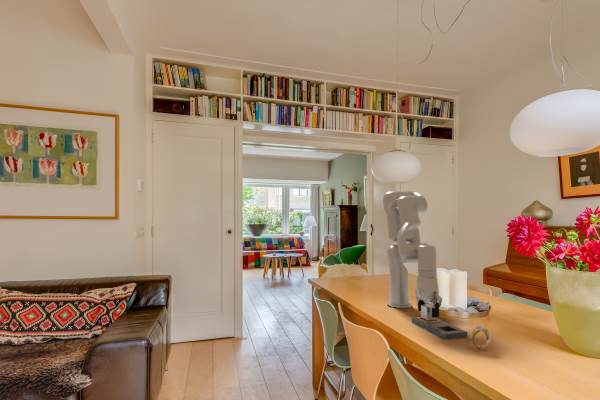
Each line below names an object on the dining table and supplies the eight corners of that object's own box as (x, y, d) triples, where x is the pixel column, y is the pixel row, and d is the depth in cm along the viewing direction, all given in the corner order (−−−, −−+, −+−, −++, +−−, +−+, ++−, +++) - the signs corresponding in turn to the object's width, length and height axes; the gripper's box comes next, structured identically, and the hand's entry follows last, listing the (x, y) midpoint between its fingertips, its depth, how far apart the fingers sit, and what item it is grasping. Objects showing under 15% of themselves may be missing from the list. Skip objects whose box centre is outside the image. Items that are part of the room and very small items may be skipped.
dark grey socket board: (411, 322, 147) (411, 316, 147) (431, 320, 149) (431, 315, 149) (444, 339, 126) (444, 333, 126) (467, 337, 128) (467, 331, 128)
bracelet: (487, 347, 118) (486, 323, 119) (493, 350, 115) (492, 326, 115) (468, 347, 118) (467, 324, 118) (473, 351, 115) (472, 327, 115)
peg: (421, 323, 145) (421, 305, 145) (429, 323, 146) (429, 304, 146) (427, 326, 141) (426, 307, 141) (435, 325, 142) (435, 306, 142)
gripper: (408, 271, 152) (409, 309, 151) (432, 277, 135) (433, 320, 134) (422, 270, 154) (423, 308, 153) (448, 276, 137) (449, 319, 136)
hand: (428, 314), depth 143 cm, fingers open, 9 cm apart
